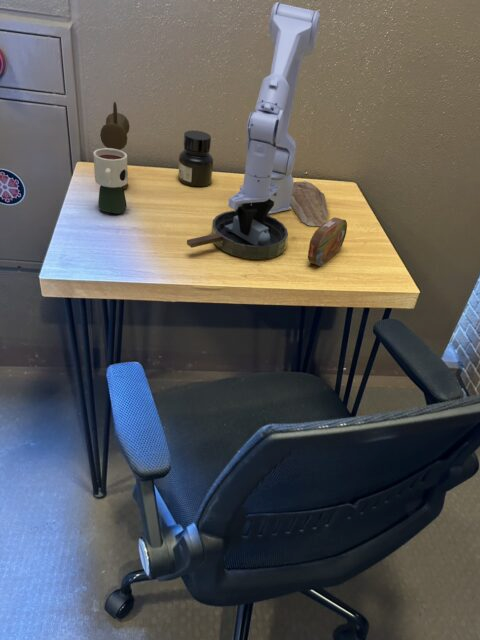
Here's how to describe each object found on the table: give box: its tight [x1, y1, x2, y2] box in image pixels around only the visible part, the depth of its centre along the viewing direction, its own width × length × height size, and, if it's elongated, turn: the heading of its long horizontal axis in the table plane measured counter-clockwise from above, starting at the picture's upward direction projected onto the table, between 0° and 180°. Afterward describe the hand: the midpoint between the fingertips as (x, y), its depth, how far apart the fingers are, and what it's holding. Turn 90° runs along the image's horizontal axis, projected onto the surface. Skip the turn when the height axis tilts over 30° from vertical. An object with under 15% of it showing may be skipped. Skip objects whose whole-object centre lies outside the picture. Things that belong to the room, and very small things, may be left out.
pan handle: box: [186, 233, 222, 249], centre depth 113 cm, size 8×2×1 cm, turn 129°
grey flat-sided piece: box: [224, 216, 270, 246], centre depth 120 cm, size 12×4×4 cm, turn 49°
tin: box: [307, 216, 348, 267], centre depth 119 cm, size 15×3×8 cm, turn 148°
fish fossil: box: [290, 180, 328, 227], centre depth 142 cm, size 26×10×1 cm, turn 12°
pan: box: [211, 210, 289, 260], centre depth 120 cm, size 17×17×4 cm
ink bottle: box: [178, 130, 214, 187], centre depth 139 cm, size 10×9×12 cm
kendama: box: [99, 101, 130, 190], centre depth 126 cm, size 6×10×20 cm, turn 6°
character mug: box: [92, 147, 129, 214], centre depth 118 cm, size 11×7×13 cm, turn 5°
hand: (250, 231), depth 120 cm, fingers closed on grey flat-sided piece, 3 cm apart
